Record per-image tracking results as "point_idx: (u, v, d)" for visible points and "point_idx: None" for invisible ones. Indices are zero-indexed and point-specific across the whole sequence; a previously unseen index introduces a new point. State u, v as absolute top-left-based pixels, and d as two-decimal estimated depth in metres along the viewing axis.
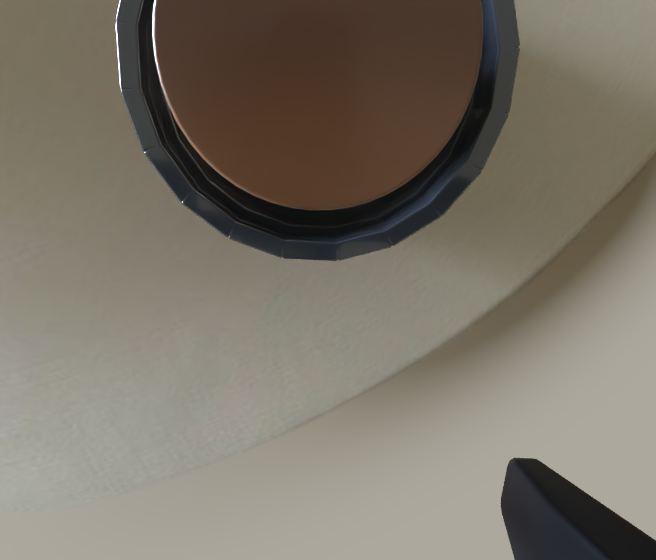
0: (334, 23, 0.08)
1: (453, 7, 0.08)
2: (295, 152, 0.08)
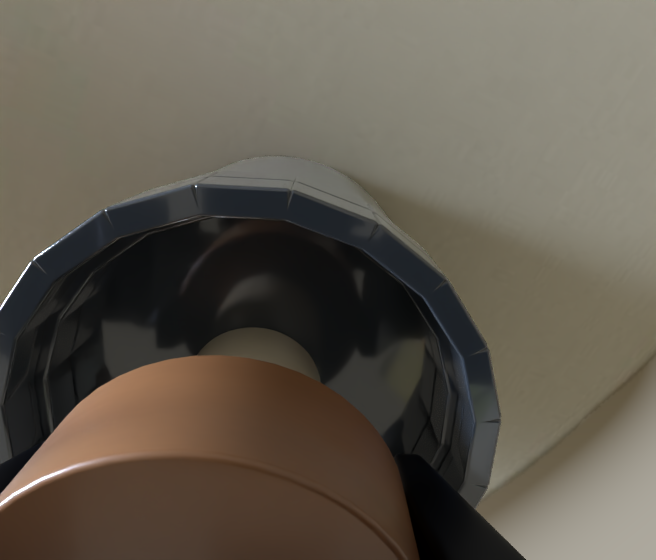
0: None
1: None
2: None
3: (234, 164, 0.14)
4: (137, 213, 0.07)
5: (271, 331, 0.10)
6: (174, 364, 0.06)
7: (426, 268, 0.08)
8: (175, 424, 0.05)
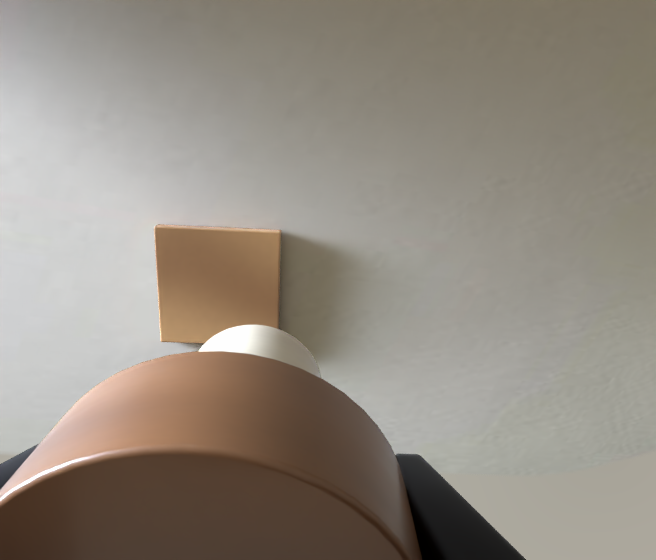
0: None
1: None
2: None
3: None
4: None
5: (272, 329, 0.10)
6: (174, 359, 0.06)
7: None
8: (176, 419, 0.05)
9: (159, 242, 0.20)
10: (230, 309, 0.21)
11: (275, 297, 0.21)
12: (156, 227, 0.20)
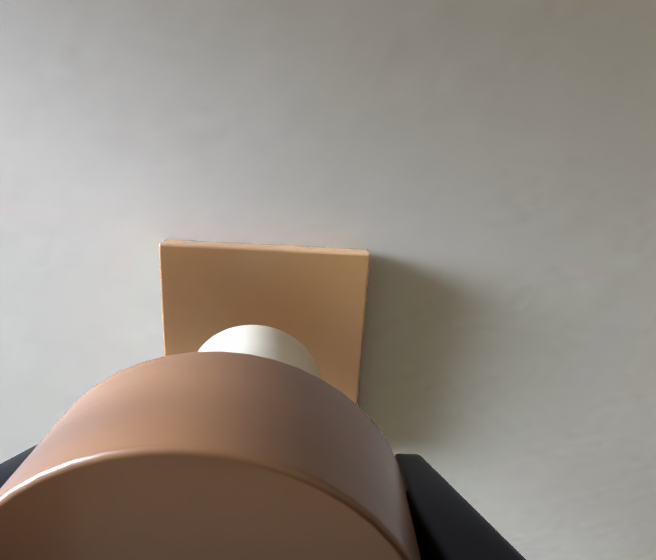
0: None
1: None
2: None
3: None
4: None
5: (271, 329, 0.10)
6: (173, 360, 0.06)
7: None
8: (175, 419, 0.05)
9: (167, 269, 0.12)
10: None
11: (355, 358, 0.13)
12: (162, 245, 0.12)
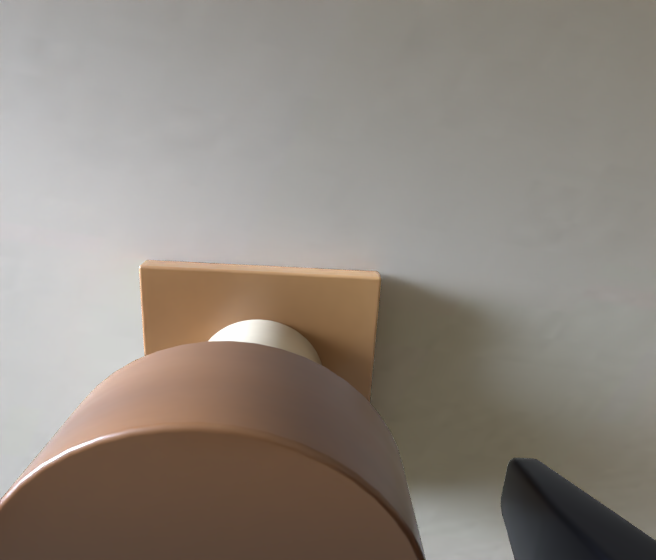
0: None
1: None
2: None
3: None
4: None
5: (276, 323, 0.10)
6: (187, 349, 0.06)
7: None
8: (192, 400, 0.05)
9: (148, 295, 0.10)
10: None
11: (364, 394, 0.11)
12: (143, 267, 0.10)
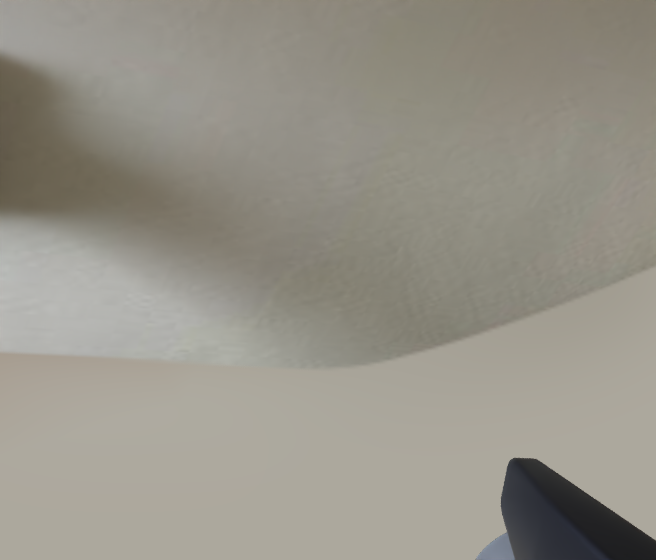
0: None
1: None
2: None
3: None
4: None
5: None
6: None
7: None
8: None
9: None
10: None
11: None
12: None
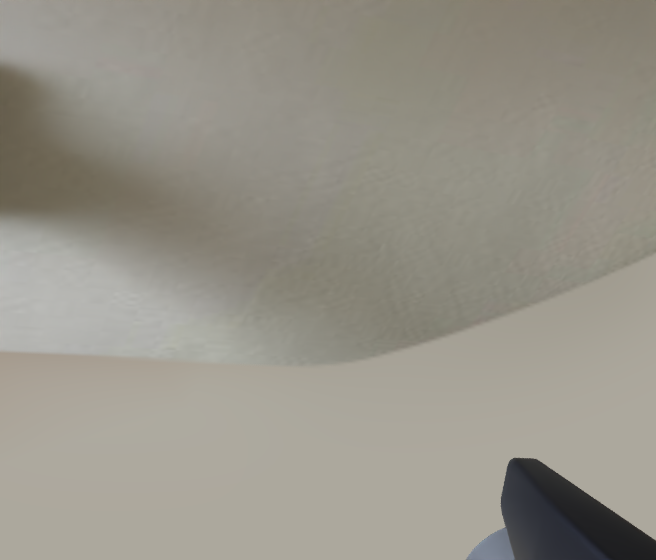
0: None
1: None
2: None
3: None
4: None
5: None
6: None
7: None
8: None
9: None
10: None
11: None
12: None
